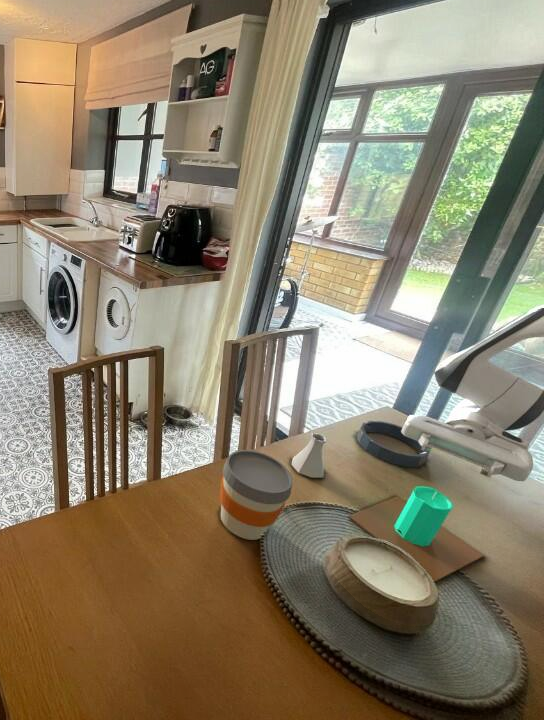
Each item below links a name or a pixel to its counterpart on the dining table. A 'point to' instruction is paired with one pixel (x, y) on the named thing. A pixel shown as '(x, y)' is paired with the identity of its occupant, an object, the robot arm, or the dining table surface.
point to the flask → (311, 458)
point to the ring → (387, 453)
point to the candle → (423, 515)
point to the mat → (435, 558)
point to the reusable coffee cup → (253, 492)
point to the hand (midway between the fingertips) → (455, 460)
